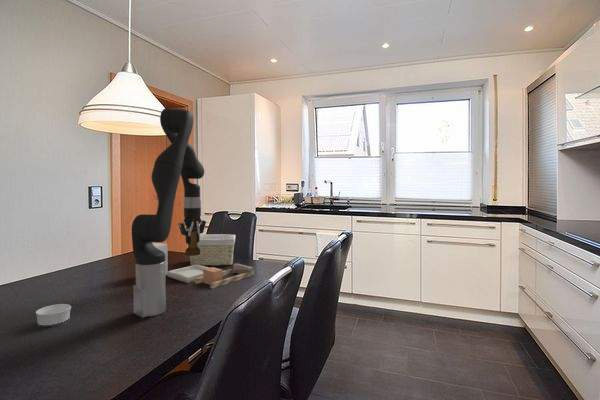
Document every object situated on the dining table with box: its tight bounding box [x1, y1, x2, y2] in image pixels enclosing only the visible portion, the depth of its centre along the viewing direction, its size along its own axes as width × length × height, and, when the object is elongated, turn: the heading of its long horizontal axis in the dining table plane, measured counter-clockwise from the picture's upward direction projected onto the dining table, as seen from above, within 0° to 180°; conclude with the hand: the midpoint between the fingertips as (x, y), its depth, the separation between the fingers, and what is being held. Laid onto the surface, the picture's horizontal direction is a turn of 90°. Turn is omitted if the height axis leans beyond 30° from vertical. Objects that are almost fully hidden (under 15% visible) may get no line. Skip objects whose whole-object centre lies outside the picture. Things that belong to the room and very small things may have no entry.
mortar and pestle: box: [184, 218, 200, 257], centre depth 152 cm, size 7×6×18 cm
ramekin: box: [35, 303, 72, 326], centre depth 103 cm, size 9×9×4 cm
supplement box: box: [152, 242, 169, 276], centre depth 151 cm, size 9×9×15 cm
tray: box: [167, 265, 210, 284], centre depth 154 cm, size 16×16×2 cm
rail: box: [194, 262, 255, 290], centre depth 149 cm, size 24×12×4 cm, turn 143°
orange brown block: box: [202, 266, 224, 286], centre depth 143 cm, size 5×7×6 cm
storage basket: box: [189, 233, 236, 267], centre depth 178 cm, size 24×16×15 cm
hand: (192, 243), depth 153 cm, fingers closed on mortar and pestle, 4 cm apart
